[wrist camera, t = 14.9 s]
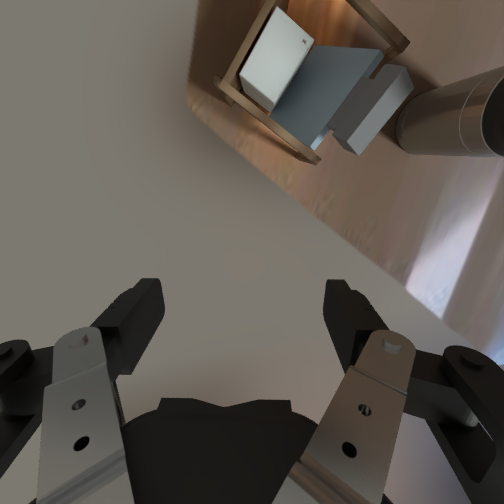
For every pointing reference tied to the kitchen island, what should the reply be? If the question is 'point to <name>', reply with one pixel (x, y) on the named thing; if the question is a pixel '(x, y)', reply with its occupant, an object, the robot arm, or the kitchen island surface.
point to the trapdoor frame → (231, 81)
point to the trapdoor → (341, 97)
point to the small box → (275, 60)
